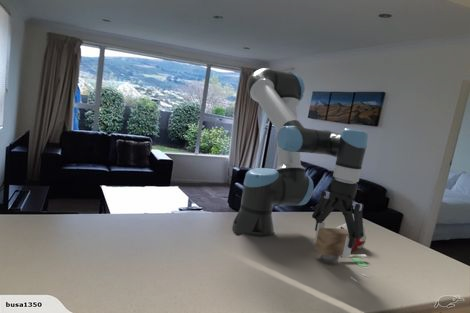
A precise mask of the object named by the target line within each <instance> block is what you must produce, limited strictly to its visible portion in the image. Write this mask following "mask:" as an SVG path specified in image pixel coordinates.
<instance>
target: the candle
mask: <svg viewBox="0 0 470 313" xmlns="http://www.w3.org/2000/svg"><path fill="white" fill-rule="evenodd" d="M336 228H338V229H345V230H346V231H348V229H347V225H346V222H345V223H343V224H340V225H338V226H336ZM363 234H364V236H363V237H362V238H356V242H355V246H354V248H352V249H351V251H354V250H355V251H356V249H358V250H361V249H362V248H363V247H364V246H365V245H366V242H367V241H366V240H367V234H366V228H365V226H364V225H363Z"/></svg>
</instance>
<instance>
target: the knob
mask: <svg viewBox="0 0 470 313" xmlns="http://www.w3.org/2000/svg"><path fill="white" fill-rule="evenodd" d="M347 236H349V233H348V231H346V230H345V229H338V228H337V227H336V228H331V227H330V228H327V227H326V228H325V227H324V228H319V231H318V236H317V241H316V243H315V247H314V249H315V251H317V252H318V254H320V261H321V262H322V263H324V264H326V265H329V266H337V265H338V262H339V258H340V259H344V258H343V257H342V256H343V251H344V246H345V241H346V237H347ZM351 258H359V259H367V258H368V255H367V254H365V253H364V254H362V253H361V254H352V255H350V257H347V258H346V259H351Z"/></svg>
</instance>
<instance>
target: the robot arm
mask: <svg viewBox="0 0 470 313" xmlns="http://www.w3.org/2000/svg"><path fill="white" fill-rule="evenodd" d="M246 83H247V84H246V88H247V92H248V95H249V96H250V97H251V99H252V100H253V101H254V102H257V103H258V104H259V106H260V107H261V110H263V113H265V115H266V116H267V117H268V119H269V121H270V122H271V124H272V125H273V127H274V128H275V135H276V146H277V147H276V148H277V150H276V152H277V164H278V166H277V167H276V168H275V169H273V168H265V167H256V168H251V169H249V170H248V171H246V173H245V176H244V180H243V188H242V195H241V200H240V208H239V211H238V213H237V215H236V216H235V217H234V220H233V223H232V228H231V230H232V231H233V232H234V233H235V234H237V235H238V236H242V235H246V236H251V237H257V238H263V237H264V238H265V237H270V236H272V235H273V234H274V231H275V229H274V221H273V215H272V213H273V208H274V206H292V207H295V206H304V205H306V204H307V203H308V202H309V201H310V200H311V198H312V196H313V193H314V181H313V179H312V178H311V177H310V176H309V175H307V173H306V168H305V167H304V166H303V164H302V162H301V153H307V154H319V155H327V156H331V157H335V158H336V161H335V164H334V168H333V173H332V177H333V178H332V180H331V186H330V191H329V190H326V191H325V190H323V191H321V194H320V199H319V200H318V203H317V204H316V207H315V208H314V211H313V212H312V215H311V217H312V219H314V220H315V221H316V222H315V227H314V231H315V235H314V236H315V237H314V243H315V244H316V241H317V236H318V231H319V228H325V227H326V222H325V220H326V218H327V217H329V215H330V214H331V213H332V212H333V211H334V210H338V211H340V212H341V214H342V215H343V217H344V220H345V223H346V225H347V229H348V233H349V236H347V237H346V241H345V246H344V251H343V256H342V257H343V258H342V259H348V258H347V257H350V254H351V252H352V250H351V249H352V248H354V246H355V242H356V238H362V237H363V236H364V234H363V226H364V221H363V220H364V219H363V210H364V207H365V206H364V203H363V202H362V203H358V202H356V199H355V197H356V195H357V191H358V186H359V184H358V183H359V181H360V177H361V174H362V173H361V172H362V167H363V162H364V158H365V153H366V149H367V146H368V137H369V136H368V132H367V131H365V130H359V129H353V128H348V127H345V128H342V131H341V133H339V132H335V131H331V130H326V129H325V130H324V129H315V128H307V127H304V126H303V124H302V123H301V122H300V120H299V119H298V115H297V114H298V113H297V107H298V106H299V105H300V102H301V101H302V99H303V97H304V93H305V83H304V80H303V79H302V77H301V76H300V75H298V74H296V73H293V72H291V71H288V72H287V71H282V70H279V69H278V70H277V69H273V68H268V67H261V68H258V69H257V70H255V71H254V72H252V73H251V74H250V76H249V77H248V80H247V82H246ZM329 200H330V201H329ZM328 201H329V202H328Z"/></svg>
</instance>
